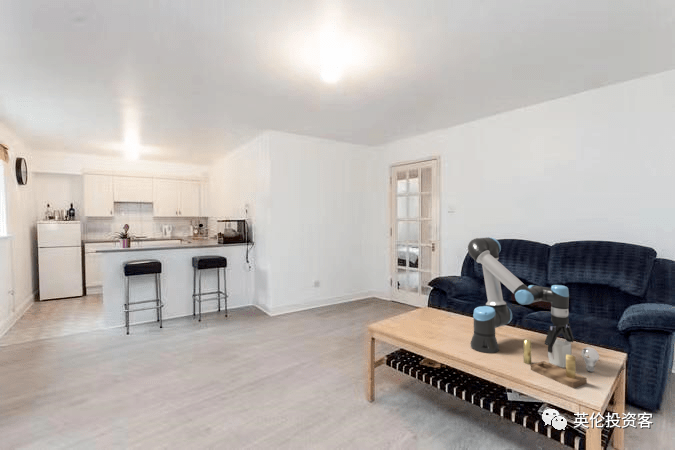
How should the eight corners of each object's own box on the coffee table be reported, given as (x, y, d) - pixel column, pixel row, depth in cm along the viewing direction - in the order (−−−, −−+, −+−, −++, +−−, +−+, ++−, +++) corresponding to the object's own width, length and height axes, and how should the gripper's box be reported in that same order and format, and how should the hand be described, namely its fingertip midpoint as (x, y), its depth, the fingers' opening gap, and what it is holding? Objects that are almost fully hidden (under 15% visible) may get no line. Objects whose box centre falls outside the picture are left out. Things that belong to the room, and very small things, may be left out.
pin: (521, 362, 173) (521, 339, 173) (526, 360, 174) (526, 338, 174) (528, 364, 170) (528, 341, 169) (532, 363, 171) (532, 340, 171)
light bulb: (591, 368, 165) (591, 344, 165) (602, 374, 158) (602, 350, 158) (577, 368, 165) (577, 345, 164) (588, 375, 158) (588, 350, 157)
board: (530, 369, 164) (530, 346, 164) (543, 365, 168) (543, 342, 168) (573, 388, 146) (573, 361, 146) (586, 383, 150) (586, 357, 150)
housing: (548, 362, 172) (548, 341, 172) (557, 359, 175) (557, 339, 175) (562, 367, 166) (562, 346, 166) (571, 365, 169) (571, 343, 168)
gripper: (551, 320, 162) (551, 363, 162) (582, 314, 172) (581, 354, 172) (536, 316, 168) (536, 357, 169) (567, 310, 179) (566, 349, 179)
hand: (559, 355), depth 171 cm, fingers open, 13 cm apart
